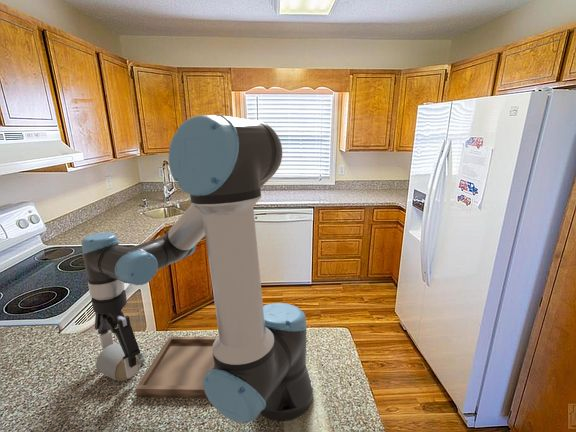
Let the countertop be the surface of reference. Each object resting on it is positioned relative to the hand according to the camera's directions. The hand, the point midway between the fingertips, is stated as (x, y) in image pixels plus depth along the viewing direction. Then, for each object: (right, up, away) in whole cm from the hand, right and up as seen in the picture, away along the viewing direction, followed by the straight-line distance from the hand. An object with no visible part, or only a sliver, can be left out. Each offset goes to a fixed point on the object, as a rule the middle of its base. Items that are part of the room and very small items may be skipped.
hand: (120, 363), depth 80 cm
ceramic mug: (+1, -3, +1) cm, 3 cm away
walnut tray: (+19, -2, +2) cm, 19 cm away
